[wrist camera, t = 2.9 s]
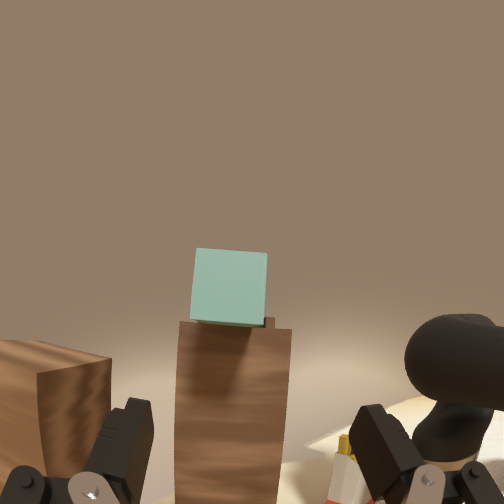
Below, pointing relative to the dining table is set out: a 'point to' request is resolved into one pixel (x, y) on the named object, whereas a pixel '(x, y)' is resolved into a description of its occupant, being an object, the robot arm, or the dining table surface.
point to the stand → (230, 412)
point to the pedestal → (50, 407)
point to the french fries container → (347, 478)
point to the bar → (229, 287)
